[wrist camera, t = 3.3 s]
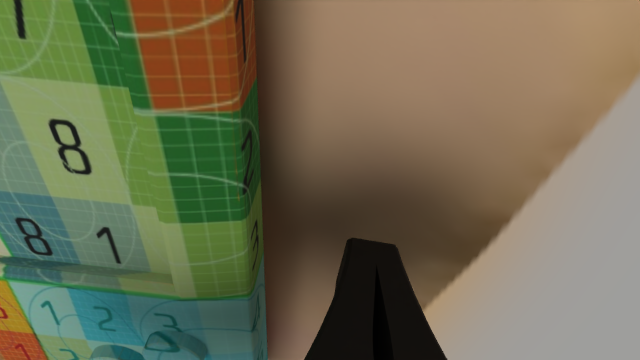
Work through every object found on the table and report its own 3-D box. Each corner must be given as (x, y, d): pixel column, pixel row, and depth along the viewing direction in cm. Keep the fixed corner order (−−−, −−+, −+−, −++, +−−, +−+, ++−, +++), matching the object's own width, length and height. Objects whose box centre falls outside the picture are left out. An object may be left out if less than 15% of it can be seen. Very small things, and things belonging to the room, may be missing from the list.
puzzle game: (-43, 434, 16) (-1170, -487, 4) (33, 325, 20) (-396, -321, 7) (259, 472, 16) (174, -412, 3) (279, 354, 19) (277, -277, 7)
